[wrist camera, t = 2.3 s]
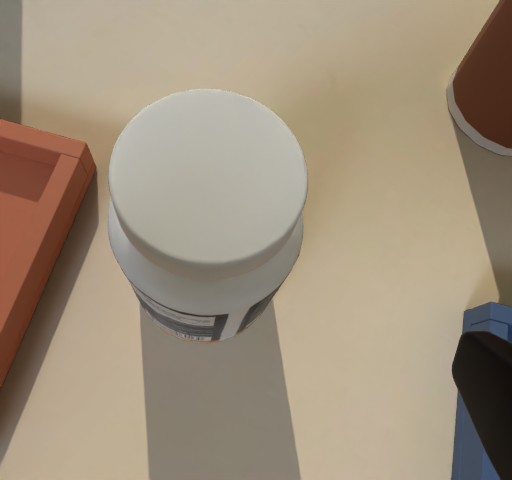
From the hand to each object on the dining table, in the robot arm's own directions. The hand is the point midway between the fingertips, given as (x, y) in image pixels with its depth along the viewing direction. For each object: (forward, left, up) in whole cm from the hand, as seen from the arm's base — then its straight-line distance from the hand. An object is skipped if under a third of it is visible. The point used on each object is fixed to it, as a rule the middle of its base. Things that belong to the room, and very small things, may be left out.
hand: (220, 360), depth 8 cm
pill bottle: (+4, +1, -11) cm, 12 cm away
